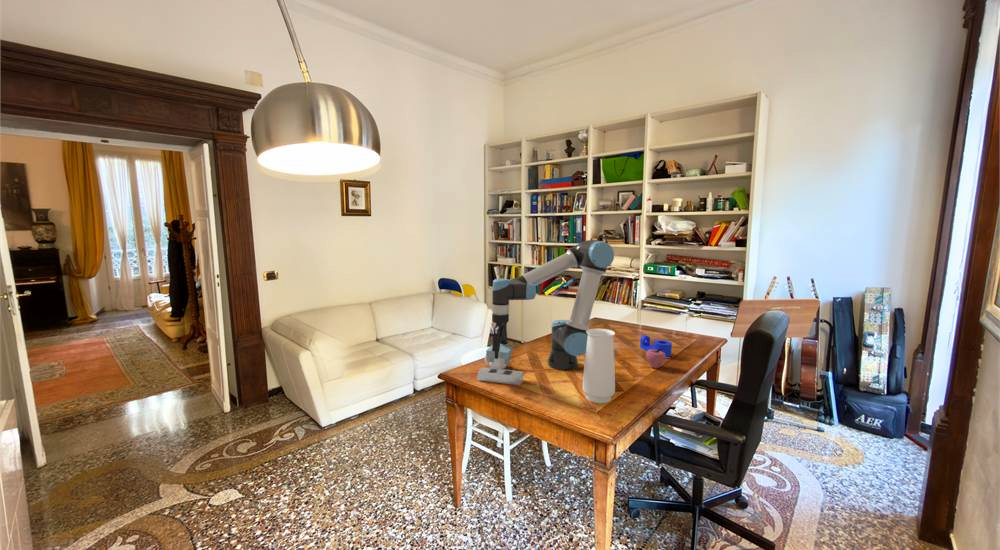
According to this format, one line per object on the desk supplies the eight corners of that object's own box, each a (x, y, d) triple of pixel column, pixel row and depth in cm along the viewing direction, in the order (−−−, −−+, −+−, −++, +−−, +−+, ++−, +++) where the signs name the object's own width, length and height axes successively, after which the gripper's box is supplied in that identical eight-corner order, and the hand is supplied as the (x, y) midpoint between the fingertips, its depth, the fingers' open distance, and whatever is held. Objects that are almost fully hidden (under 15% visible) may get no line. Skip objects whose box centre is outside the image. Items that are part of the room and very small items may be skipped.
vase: (619, 404, 159) (622, 336, 155) (587, 405, 158) (589, 337, 154) (608, 390, 172) (610, 327, 168) (578, 391, 171) (580, 328, 167)
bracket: (674, 357, 214) (675, 343, 213) (661, 359, 211) (662, 345, 210) (649, 347, 233) (650, 334, 232) (636, 348, 230) (637, 335, 229)
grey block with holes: (523, 379, 184) (523, 371, 183) (520, 385, 178) (520, 376, 177) (482, 375, 189) (482, 367, 189) (477, 380, 183) (477, 372, 183)
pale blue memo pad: (512, 360, 185) (512, 346, 184) (507, 366, 177) (507, 352, 176) (492, 358, 188) (492, 344, 187) (486, 364, 179) (486, 350, 178)
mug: (488, 372, 193) (488, 352, 191) (480, 367, 200) (480, 347, 198) (509, 367, 199) (509, 347, 198) (500, 362, 206) (500, 343, 205)
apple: (658, 363, 205) (659, 344, 203) (669, 369, 196) (670, 350, 195) (641, 365, 203) (642, 346, 201) (652, 371, 194) (653, 351, 193)
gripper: (499, 307, 191) (498, 353, 194) (485, 317, 170) (484, 368, 173) (514, 309, 189) (513, 354, 191) (502, 319, 168) (501, 370, 171)
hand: (499, 361), depth 182 cm, fingers closed on pale blue memo pad, 9 cm apart
